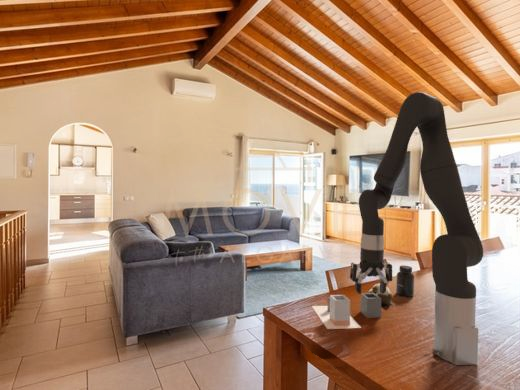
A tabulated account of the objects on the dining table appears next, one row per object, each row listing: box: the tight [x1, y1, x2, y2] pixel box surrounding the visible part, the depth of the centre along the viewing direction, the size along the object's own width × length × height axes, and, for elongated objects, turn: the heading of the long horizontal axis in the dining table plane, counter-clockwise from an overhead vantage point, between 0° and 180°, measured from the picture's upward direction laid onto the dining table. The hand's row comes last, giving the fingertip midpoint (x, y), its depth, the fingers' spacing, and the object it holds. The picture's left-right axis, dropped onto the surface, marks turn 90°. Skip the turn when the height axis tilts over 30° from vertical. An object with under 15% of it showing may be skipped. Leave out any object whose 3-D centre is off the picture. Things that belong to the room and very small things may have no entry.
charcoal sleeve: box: [360, 292, 382, 319], centre depth 104 cm, size 5×5×8 cm
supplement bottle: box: [395, 265, 415, 298], centre depth 129 cm, size 7×7×12 cm
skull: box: [367, 282, 396, 308], centre depth 120 cm, size 12×10×10 cm
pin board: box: [311, 296, 362, 330], centre depth 103 cm, size 18×11×6 cm, turn 6°
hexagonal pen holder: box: [329, 294, 351, 326], centre depth 98 cm, size 5×5×8 cm
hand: (370, 292), depth 105 cm, fingers open, 8 cm apart
